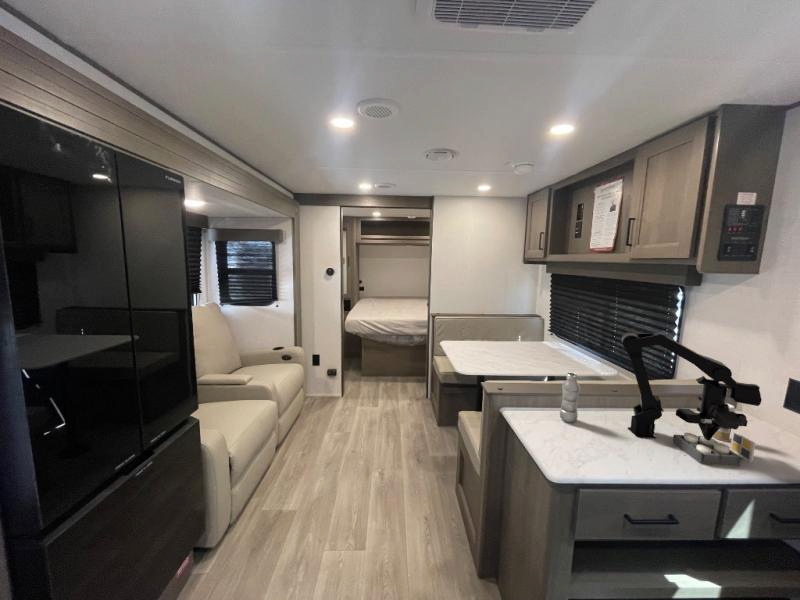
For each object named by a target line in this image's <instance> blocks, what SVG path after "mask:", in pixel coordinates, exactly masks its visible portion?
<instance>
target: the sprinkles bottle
mask: <svg viewBox="0 0 800 600" xmlns="http://www.w3.org/2000/svg"><path fill="white" fill-rule="evenodd" d="M725 403H726V404H728V406H729V411H733V412H735V406H734V405H733V404H730V403H727V402H725ZM731 431H732V429H724V428H720V429H719V430H718V431H717V432H716V433H715V434H714V435H713V437H712V438H715V439H716V440H719V441H723V442H730V440H731V439H730V437H731Z"/></svg>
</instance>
